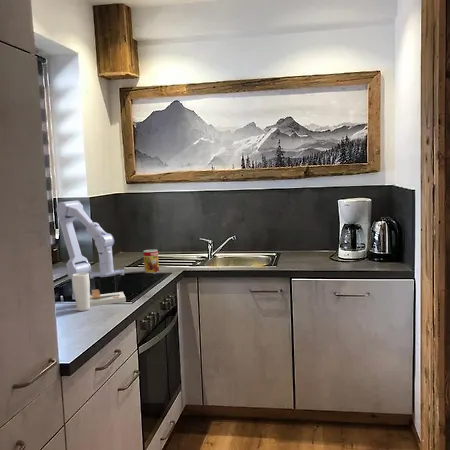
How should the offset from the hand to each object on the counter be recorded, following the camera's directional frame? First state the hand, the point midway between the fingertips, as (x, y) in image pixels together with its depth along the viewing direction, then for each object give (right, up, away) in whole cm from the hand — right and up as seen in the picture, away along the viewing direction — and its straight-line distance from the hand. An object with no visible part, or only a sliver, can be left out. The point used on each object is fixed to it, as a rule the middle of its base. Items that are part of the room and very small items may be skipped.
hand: (108, 292), depth 235 cm
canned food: (+11, +3, +60) cm, 61 cm away
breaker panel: (-1, -4, 0) cm, 4 cm away
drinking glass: (-8, -6, -13) cm, 16 cm away
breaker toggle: (-5, -2, -1) cm, 6 cm away
